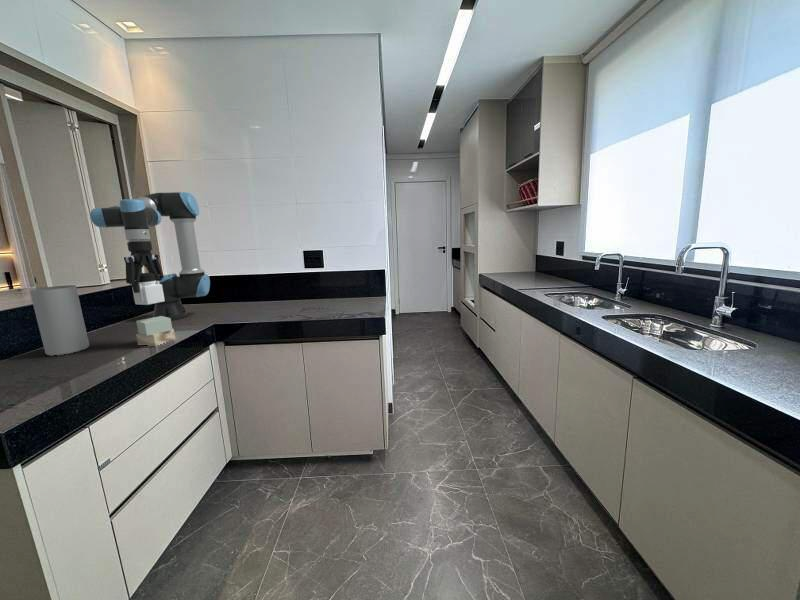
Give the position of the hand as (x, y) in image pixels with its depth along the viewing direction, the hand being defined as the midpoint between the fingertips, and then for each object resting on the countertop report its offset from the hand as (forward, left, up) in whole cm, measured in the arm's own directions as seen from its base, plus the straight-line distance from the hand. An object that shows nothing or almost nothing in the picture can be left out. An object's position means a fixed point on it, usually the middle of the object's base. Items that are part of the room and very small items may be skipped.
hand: (149, 298), depth 137 cm
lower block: (0, 0, -19) cm, 19 cm away
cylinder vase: (+19, -25, -19) cm, 37 cm away
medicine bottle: (0, 0, -2) cm, 2 cm away
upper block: (0, 0, -14) cm, 14 cm away
